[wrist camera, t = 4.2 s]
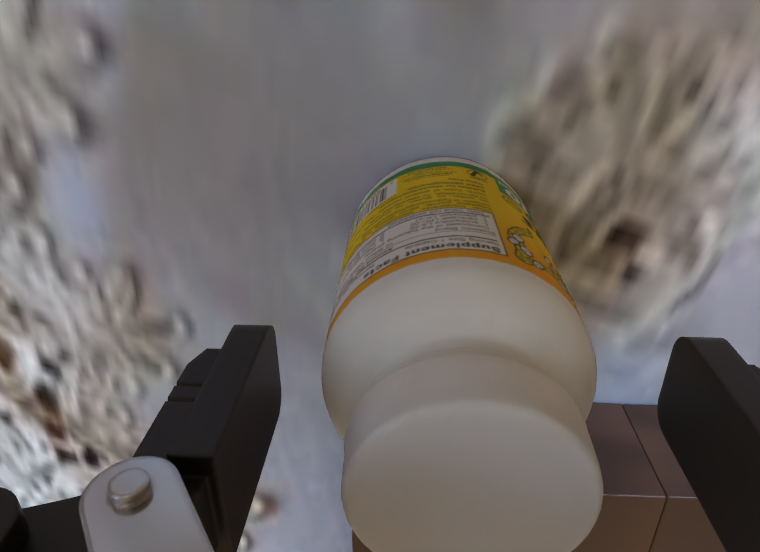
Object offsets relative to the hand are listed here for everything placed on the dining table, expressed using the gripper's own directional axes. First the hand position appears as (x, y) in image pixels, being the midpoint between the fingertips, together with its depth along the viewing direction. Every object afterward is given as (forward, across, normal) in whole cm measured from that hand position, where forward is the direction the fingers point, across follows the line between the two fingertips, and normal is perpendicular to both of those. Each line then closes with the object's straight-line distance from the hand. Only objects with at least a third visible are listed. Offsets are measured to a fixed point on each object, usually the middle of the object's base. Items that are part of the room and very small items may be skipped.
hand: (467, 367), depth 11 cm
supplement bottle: (+7, 0, 0) cm, 7 cm away
